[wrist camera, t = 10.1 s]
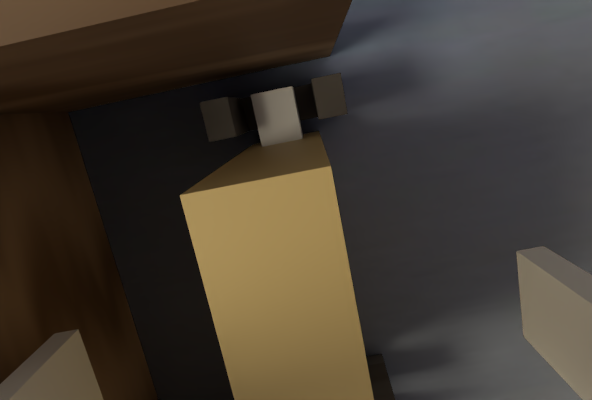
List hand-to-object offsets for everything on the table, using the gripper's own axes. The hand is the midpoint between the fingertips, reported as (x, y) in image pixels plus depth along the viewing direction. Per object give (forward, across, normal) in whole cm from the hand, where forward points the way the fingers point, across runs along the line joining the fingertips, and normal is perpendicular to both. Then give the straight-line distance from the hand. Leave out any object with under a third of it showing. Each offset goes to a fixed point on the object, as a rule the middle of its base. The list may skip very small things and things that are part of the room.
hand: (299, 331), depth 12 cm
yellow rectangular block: (+8, 0, 0) cm, 8 cm away
